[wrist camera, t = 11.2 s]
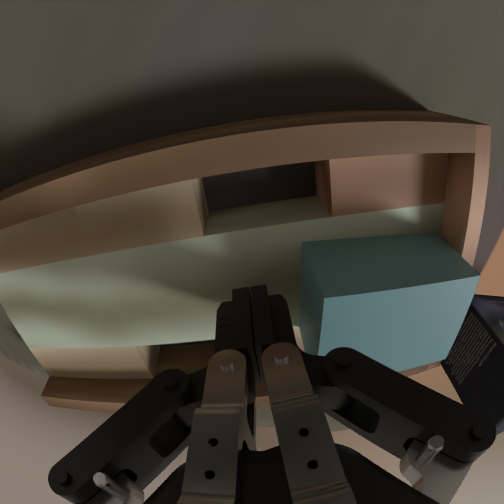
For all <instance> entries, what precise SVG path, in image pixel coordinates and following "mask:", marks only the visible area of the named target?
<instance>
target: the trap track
mask: <svg viewBox="0 0 504 504" xmlns="http://www.w3.org/2000/svg"><path fill="white" fill-rule="evenodd" d="M490 146H491V126H490V125H486V124H483V123H479V122H475V121H472V120H468V119H464V118H460V117H456V116H451V115H447V114H442V113H437V112H433V111H420V110H351V111H331V112H316V113H304V114H293V115H284V116H275V117H267V118H259V119H252V120H245V121H238V122H232V123H226V124H220V125H215V126H209V127H204V128H199V129H194V130H189V131H184V132H179V133H175V134H170V135H166V136H162V137H158V138H154V139H150V140H146V141H142V142H138V143H134V144H130V145H127V146H123V147H120V148H116V149H113V150H109V151H106V152H103V153H100V154H96V155H93V156H90V157H87V158H84V159H81V160H78V161H75V162H72V163H69V164H66V165H64V166H61V167H58V168H55V169H53V170H50V171H47V172H45V173H42V174H40V175H37V176H34V177H32V178H30V179H27V180H25V181H22V182H20V183H18V184H15V185H13V186H11V187H8V188H6V189H4V190H2V191H0V303H1V305H2V306H3V308H4V310H5V312H6V313H7V315H8V317H9V318H10V320H11V322H12V323H13V325H14V326H15V328H16V329H17V331H18V333H19V334H20V336H21V337H22V339H23V340H24V342H25V343H26V344H27V346H28V347H29V349H30V350H31V352H32V353H33V354H34V356H35V357H36V359H37V360H38V361H39V363H40V364H41V365H42V367H43V368H44V369H45V371H46V372H47V373H48V374H49V376H50V377H49V379H48V381H47V383H46V386H45V388H44V390H43V392H42V395H41V397H42V398H43V399H44V400H45V401H46V402H47V403H48V404H49V405H50V406H55V407H62V408H70V409H79V410H90V411H101V412H117V411H118V410H119V409H120V408H121V407H122V406H123V405H125V404H126V403H127V402H128V401H129V400H130V399H131V398H132V397H134V396H135V395H136V394H137V393H138V392H139V391H140V390H141V389H142V388H144V387H145V386H146V385H147V384H148V383H149V382H150V381H151V380H152V379H154V378H155V377H156V376H157V375H158V374H159V373H161V372H162V371H165V370H167V369H180V370H182V371H184V372H185V373H186V374H187V375H188V374H190V373H193V372H196V371H199V370H201V369H203V368H205V367H206V366H207V365H208V362H209V360H210V359H211V357H212V356H213V355H214V351H215V332H216V314H217V309H218V308H219V306H220V304H221V303H222V302H226V301H232V289H236V288H243V287H249V289H250V286H257V285H263V284H266V285H267V291H268V295H275V294H281V295H282V296H283V297H284V298H285V299H286V300H287V304H288V308H289V312H290V317H291V321H292V325H293V330H294V334H295V339H296V343H297V345H298V347H299V348H300V349H301V350H302V351H304V352H305V350H304V345H303V341H302V337H301V333H300V329H299V317H300V291H301V253H302V242H306V241H319V240H332V239H346V238H360V237H374V236H388V235H402V234H416V233H431V232H435V233H436V234H437V235H439V236H440V237H441V238H442V239H443V240H444V241H445V242H446V243H447V244H449V245H450V246H451V247H452V248H453V249H454V250H455V251H456V252H457V253H458V254H459V255H460V256H462V257H463V258H464V259H465V260H466V261H467V262H468V263H469V264H470V265H471V266H472V267H473V264H474V260H475V255H476V251H477V246H478V241H479V237H480V231H481V226H482V220H483V214H484V208H485V201H486V193H487V185H488V175H489V163H490ZM250 295H251V294H250ZM441 361H442V360H440V361H437V362H433V363H430V364H426V365H422V366H419V367H415V368H411V369H407V370H403V371H399V372H398V373H400V374H402V375H404V376H406V377H408V376H411V375H414V374H417V373H420V372H423V371H426V370H429V369H432V368H435V367H438V366H439V365H440V363H441ZM260 377H261V374H260ZM255 386H256V408H262V407H270V406H271V405H270V401H269V396H268V390H267V385H266V384H263V383H262V379H261V385H255Z"/></svg>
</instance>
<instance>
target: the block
mask: <svg viewBox="0 0 504 504" xmlns="http://www.w3.org/2000/svg"><path fill="white" fill-rule="evenodd" d="M480 276H481V275H480V274H479V273H478V272H477V271H476V270H475V269H474V268H473V267H472V266H471V265H470V264H469V263H468V262H467V261H466V260H465V259H464V258H463V257H462V256H460V255H459V254H458V253H457V252H456V251H455V250H454V249H453V248H452V247H451V246H450V245H449V244H447V243H446V242H445V241H444V240H443V239H442V238H441V237H440V236H439V235H437V234H436V233H435V232H431V233H416V234H402V235H388V236H374V237H360V238H346V239H332V240H319V241H306V242H302V253H301V291H300V317H299V329H300V333H301V337H302V341H303V345H304V350H305V353H308V354H311V355H319V356H326V354H327V353H328V352H329V351H331V350H333V349H335V348H338V347H349V348H352V349H355V350H357V351H358V352H360V353H362V354H364V355H366V356H368V357H370V358H372V359H373V360H375V361H377V362H379V363H381V364H383V365H385V366H387V367H389V368H391V369H393V370H395V371H396V372H399V371H403V370H407V369H411V368H415V367H419V366H422V365H426V364H430V363H433V362H437V361H440V360H443V359H446V357H447V355H448V353H449V351H450V349H451V347H452V345H453V343H454V341H455V339H456V337H457V334H458V332H459V330H460V328H461V325H462V323H463V321H464V318H465V316H466V314H467V311H468V309H469V306H470V304H471V301H472V298H473V296H474V293H475V290H476V288H477V285H478V282H479V279H480Z"/></svg>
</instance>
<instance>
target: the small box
mask: <svg viewBox="0 0 504 504" xmlns="http://www.w3.org/2000/svg"><path fill="white" fill-rule="evenodd" d="M440 364H441V365H442V367H443V369H444V371H445V373H446V374H447V376H448V377H449V379H450V381H451V383H452V384H453V386H454V388H455V390H456V392H457V394H458V396H459V397H460V399H461V401H462V403H463V405H465V406H467V407H469V408H471V409H473V410H475V411H477V412H479V413H481V414H484V415H486V416H488V417H489V418H490V419H491V420H492V421H493V422H494V424H495V427H496V435H497V434H499V433H501V432H503V431H504V297H500V296H488V295H476V294H474V296H473V298H472V301H471V304H470V306H469V309H468V311H467V314H466V316H465V318H464V321H463V323H462V325H461V328H460V330H459V332H458V334H457V337H456V339H455V341H454V343H453V345H452V347H451V349H450V351H449V353H448V355H447V357H446V359H443V360H442V361H441V363H440Z"/></svg>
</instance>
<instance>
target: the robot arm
mask: <svg viewBox="0 0 504 504" xmlns="http://www.w3.org/2000/svg"><path fill="white" fill-rule="evenodd" d="M250 294H251V295H250ZM260 374H261V377H260ZM261 379H262V383H263V384H266V385H267V390H268V396H269V401H270V405H271V410H272V415H273V420H274V424H275V429H276V434H277V438H278V443H279V446H276V447H274V448H271V449H268V450H265V451H257V448H256V386H255V385H261ZM323 410H324V411H325V413H327V414H328V415H330V416H331V417H333V418H334V419H336V420H337V421H339V422H340V423H342V424H343V425H345V426H346V427H348V428H350V429H351V430H353V431H354V432H356V433H358V434H359V435H361V436H362V437H364V438H366V439H367V440H369V441H371V442H372V443H374V444H375V445H377V446H379V447H380V448H382V449H384V450H386V451H387V452H389V453H391V454H392V455H394V456H396V457H398V458H400V459H401V461H400V465H399V467H400V471H401V473H402V475H403V476H404V477H405V478H406V479H407V480H409V482H410V483H411V484H412V486H413V487H411V486H409V485H408V484H406V483H404V482H403V481H401V480H400V479H398V478H396V477H395V476H393V475H392V474H390V473H388V472H387V471H385V470H384V469H382V468H381V467H379V466H378V465H376V464H374V463H373V462H372V461H370V460H369V459H367V458H366V457H364V456H362V455H361V454H360V453H358V452H357V451H355V450H353V449H351V448H349V447H347V446H344V445H340V444H336V443H334V441H333V438H332V435H331V432H330V429H329V426H328V423H327V420H326V417H325V414H324V411H323ZM495 438H496V427H495V424H494V422H493V421H492V420H491V419H490V418H489V417H488V416H486V415H484V414H481V413H479V412H477V411H475V410H473V409H471V408H469V407H467V406H465V405H463V404H460V403H458V402H456V401H454V400H452V399H450V398H448V397H446V396H444V395H442V394H440V393H438V392H436V391H434V390H432V389H429V388H428V387H426V386H424V385H422V384H420V383H418V382H416V381H414V380H412V379H410V378H408V377H406V376H404V375H402V374H400V373H398V372H396V371H395V370H393V369H391V368H389V367H387V366H385V365H383V364H381V363H379V362H377V361H375V360H373V359H372V358H370V357H368V356H366V355H364V354H362V353H360V352H358V351H357V350H355V349H352V348H349V347H338V348H335V349H333V350H331V351H329V352H328V353H327V354H326V356H319V355H311V354H308V353H305V352H304V351H302V350H301V349H300V348H299V347H298V345H297V343H296V339H295V334H294V330H293V325H292V321H291V317H290V312H289V308H288V304H287V300H286V299H285V298H284V297H283V296H282V295H281V294H275V295H268V291H267V285H266V284H263V285H257V286H250V289H249V287H243V288H236V289H232V301H226V302H222V303H221V304H220V306H219V308H218V309H217V314H216V332H215V351H214V355H213V356H212V357H211V359H210V360H209V362H208V365H207V366H206V367H205V368H203V369H201V370H199V371H196V372H193V373H190V374H188V375H187V374H186V373H185V372H184V371H182V370H180V369H167V370H165V371H162V372H161V373H159V374H158V375H157V376H156V377H155V378H154V379H152V380H151V381H150V382H149V383H148V384H147V385H146V386H145V387H144V388H142V389H141V390H140V391H139V392H138V393H137V394H136V395H135V396H134V397H132V398H131V399H130V400H129V401H128V402H127V403H126V404H125V405H123V406H122V407H121V408H120V409H119V410H118V411H117V412H115V413H114V414H113V415H112V416H111V417H110V418H109V419H107V421H105V422H104V423H103V424H102V425H101V426H100V427H98V428H97V429H96V430H95V431H94V432H93V433H91V434H90V435H89V436H88V437H87V438H86V439H84V441H82V442H81V443H80V444H79V445H78V446H76V447H75V448H74V449H73V450H72V451H71V452H69V453H68V454H67V455H66V456H65V457H63V458H62V459H61V460H60V461H59V462H57V463H56V464H55V465H54V466H53V467H52V468H51V470H50V472H49V476H48V482H49V485H50V487H51V489H52V490H53V491H54V492H55V493H56V494H58V495H60V496H61V497H63V498H65V499H67V500H68V501H69V502H71V503H72V504H449V503H450V501H451V500H452V498H453V497H454V495H455V493H456V491H457V490H458V488H459V487H460V485H461V483H462V481H463V480H464V478H465V476H466V474H467V473H468V471H469V469H470V467H471V465H472V463H473V462H474V461H475V460H476V459H477V458H478V457H480V456H481V455H482V454H483V453H484V452H485V451H486V450H487V449H488V448H489V447H490V446H491V445H492V444H493V442H494V440H495ZM188 445H189V446H188ZM187 446H188V452H187V459H186V463H184V464H182V465H181V466H179V467H178V468H177V469H176V470H175V471H174V472H173V473H172V474H171V475H170V476H169V477H168V478H167V479H166V480H165V481H164V482H163V483H162V484H161V485H160V487H158V488H157V490H156V491H155V492H154V493H153V494H152V495H151V496H150V497H149V498H148V499H147V500H146V501H145V502H144V492H143V489H144V488H145V487H147V486H148V485H149V484H150V483H151V482H152V481H153V480H154V479H155V478H156V477H157V476H158V475H159V474H160V473H161V472H162V471H163V470H164V469H165V468H166V467H167V466H168V465H169V464H170V463H171V462H172V461H173V460H174V459H175V458H176V457H177V456H178V455H179V454H180V453H181V452H182V451H183V450H184V449H185V448H186V447H187Z"/></svg>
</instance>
